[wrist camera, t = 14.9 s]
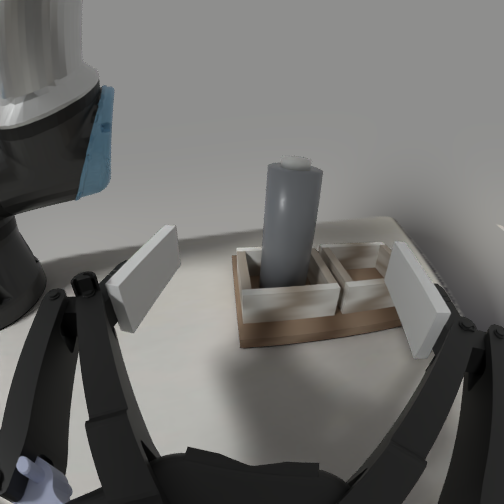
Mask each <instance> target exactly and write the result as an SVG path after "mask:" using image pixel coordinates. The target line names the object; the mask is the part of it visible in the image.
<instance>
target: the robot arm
mask: <svg viewBox="0 0 504 504" xmlns="http://www.w3.org/2000/svg"><path fill="white" fill-rule="evenodd" d="M113 100H114V88H113V87H107V86H105V85H104V86H102V87H101V88H100V85H99V74H98V71H97V70H96V69H95V68H93V67H92V66H90V65H88V64H86V63H85V62H84V61H83V59H82V0H0V329H1V328H3V327H5V326H7V325H9V324H11V323H12V322H14V321H16V320H17V319H18V318H20V317H21V316H22V315H24V314H25V313H26V312H27V311H28V310H29V309H30V308H31V307H32V306H33V305H34V304H35V303H36V302H37V300H38V299H39V298H40V296H41V294H42V293H43V291H44V288H45V285H46V277H45V274H44V271H43V269H42V266H41V264H40V262H39V260H38V259H37V258H36V257H35V256H34V255H33V253H32V251H31V250H30V248H29V246H28V245H27V243H26V242H25V240H24V239H23V237H22V235H21V234H20V232H19V230H18V227H17V224H16V220H15V216H14V215H16V214H19V213H23V212H26V211H30V210H34V209H38V208H42V207H46V206H50V205H54V204H59V203H63V202H67V201H72V200H79V199H80V198H81V197H84V196H87V195H91V194H94V193H98V192H100V191H102V190H103V189H105V188H106V187H107V185H108V183H109V182H110V179H111V133H112V114H113ZM180 265H181V261H180V254H179V246H178V238H177V230H176V225H164V227H162V228H161V229H160V230H159V231H158V232H157V233H156V234H155V235H154V236H153V237H152V238H151V239H150V240H148V241H147V242H146V243H145V244H144V245H143V246H142V247H141V248H140V249H139V250H138V251H137V252H136V253H135V254H134V255H133V256H132V257H131V258H130V259H129V260H125V261H124V262H122V263H120V264H118V265H117V266H116V267H115V268H114V269H113V271H111V272H110V273H109V275H107V276H106V277H105V278H104V279H103V280H102V281H101V282H100V283H99V284H98V280H97V277H96V275H95V273H93V272H83V273H80V274H78V275H76V276H75V277H74V278H73V279H72V280H71V285H72V288H73V290H74V293H75V296H76V297H67V296H66V293H65V291H64V290H63V289H53V290H52V291H49V292H48V293H47V294H46V295H45V297H44V298H43V300H42V303H41V305H40V307H39V309H38V311H37V314H36V316H35V318H34V321H33V323H32V326H31V328H30V331H29V333H28V336H27V338H26V341H25V344H24V346H23V349H22V352H21V355H20V358H19V361H18V364H17V367H16V370H15V373H14V377H13V380H12V384H11V387H10V391H9V395H8V399H7V403H6V407H5V412H4V417H3V422H2V427H1V430H0V496H1V497H3V498H4V499H6V500H8V501H10V502H12V503H14V504H402V503H403V501H404V500H405V498H406V497H407V496H408V494H409V493H410V491H411V490H412V488H413V487H414V485H415V484H416V482H417V481H418V479H419V478H420V476H421V475H422V473H423V471H424V469H425V467H426V465H427V461H425V459H426V457H427V455H428V453H429V451H430V450H431V448H432V446H433V444H434V442H435V440H436V438H437V436H438V435H439V433H440V431H441V429H442V426H443V424H444V422H445V420H446V418H447V416H448V414H449V411H450V409H451V407H452V404H453V402H454V400H455V397H456V395H457V392H458V390H459V387H460V384H461V382H462V379H463V376H464V382H463V394H462V403H461V411H460V417H459V424H458V430H457V435H456V440H455V445H454V449H453V454H452V458H451V462H450V466H449V469H448V473H447V476H446V480H445V483H444V486H443V489H442V492H441V495H440V498H439V501H438V504H504V328H503V327H501V326H498V325H495V324H494V325H491V326H490V327H489V329H488V331H487V332H483V331H478V330H477V328H476V326H475V324H474V323H473V322H472V321H471V320H469V319H468V318H465V317H461V316H460V315H459V313H458V311H457V310H456V308H455V306H454V305H453V303H452V302H451V300H450V298H449V297H448V295H447V293H446V292H445V290H444V289H443V288H442V287H441V286H439V285H438V284H433V282H432V280H431V279H430V277H429V276H428V274H427V273H426V271H425V270H424V268H423V267H422V265H421V264H420V262H419V261H418V259H417V258H416V257H415V255H414V254H413V252H412V251H411V249H410V248H409V247H408V245H407V244H406V242H400V241H394V243H393V248H392V252H391V256H390V260H389V264H388V268H387V271H386V275H385V279H384V281H385V284H386V286H387V288H388V291H389V293H390V296H391V298H392V301H393V303H394V305H395V308H396V311H397V313H398V316H399V318H400V321H401V324H402V326H403V329H404V332H405V335H406V337H407V340H408V343H409V346H410V349H411V352H412V355H413V358H414V359H424V358H428V356H429V354H430V353H431V351H432V349H433V352H434V354H435V356H434V358H433V359H432V361H431V363H430V364H429V366H428V368H427V369H426V373H425V375H424V376H423V378H422V380H421V382H420V384H419V385H418V387H417V389H416V390H415V392H414V394H413V396H412V397H411V399H410V400H409V402H408V404H407V405H406V407H405V408H404V410H403V411H402V413H401V415H400V416H399V418H398V419H397V421H396V422H395V423H394V425H393V426H392V428H391V429H390V431H389V432H388V433H387V435H386V436H385V437H384V439H383V440H382V441H381V443H380V444H379V445H378V447H377V448H376V449H375V450H374V452H373V453H372V454H371V455H370V457H369V458H368V459H367V460H366V462H365V463H364V464H363V465H362V466H361V467H360V468H359V470H358V471H357V472H356V473H355V474H354V475H353V476H352V477H351V478H350V479H349V480H348V481H347V482H345V481H343V480H342V479H340V478H339V477H337V476H335V475H333V474H331V473H329V472H326V471H323V470H319V463H300V462H282V463H275V464H267V465H258V466H250V465H246V464H244V463H241V462H239V461H236V460H233V459H231V458H228V457H226V456H224V455H221V454H219V453H214V452H209V451H205V450H200V449H196V448H191V447H187V451H186V453H176V454H170V455H165V456H162V457H161V456H160V454H159V452H158V451H157V449H156V447H155V446H154V444H153V442H152V440H151V437H150V435H149V432H148V430H147V428H146V425H145V423H144V420H143V417H142V415H141V412H140V410H139V407H138V404H137V401H136V398H135V396H134V393H133V390H132V387H131V384H130V381H129V377H128V374H127V371H126V368H125V364H124V361H123V357H122V354H121V350H120V346H119V342H118V338H117V334H116V331H115V328H114V326H115V324H116V323H117V322H118V324H119V326H120V329H121V330H122V331H126V332H130V333H134V332H135V331H136V329H137V328H138V326H139V325H140V323H141V322H142V320H143V319H144V317H145V316H146V314H147V313H148V311H149V310H150V308H151V307H152V305H153V304H154V302H155V301H156V299H157V298H158V297H159V295H160V294H161V292H162V291H163V289H164V288H165V286H166V285H167V284H168V282H169V281H170V279H171V278H172V277H173V275H174V274H175V272H176V271H177V269H178V268H179V267H180ZM78 353H79V356H80V365H81V373H82V380H83V386H84V393H85V398H86V404H87V409H88V414H89V421H86V422H85V428H86V433H87V438H88V442H89V446H90V449H91V453H92V457H93V460H94V463H95V467H96V470H97V473H98V476H99V479H100V482H101V485H102V487H101V488H98V489H96V490H94V491H92V492H90V493H87V494H85V495H83V496H80V497H78V498H75V499H73V500H70V496H71V495H72V488H71V486H70V485H69V484H68V480H67V478H66V476H65V474H66V467H67V458H68V435H69V419H70V408H71V399H72V390H73V383H74V376H75V370H76V364H77V358H78Z"/></svg>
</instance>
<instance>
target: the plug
mask: <svg viewBox="0 0 504 504" xmlns="http://www.w3.org/2000/svg"><path fill="white" fill-rule="evenodd" d="M322 175H323V171H322V170H320V169H318V168H316V167H312V166H311V159H308V158H304V157H298V156H282V157H281V163H272V164H269V165H268V172H267V187H266V201H265V215H264V228H263V242H262V255H261V268H260V281H259V289H261V288H277V287H291V286H305V284H306V279H307V274H308V268H309V262H310V257H311V251H312V245H313V238H314V232H315V226H316V219H317V212H318V205H319V198H320V190H321V183H322Z"/></svg>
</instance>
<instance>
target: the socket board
mask: <svg viewBox="0 0 504 504" xmlns="http://www.w3.org/2000/svg"><path fill="white" fill-rule="evenodd" d="M391 252H392V250H391V249H389V248H388V247H387V246H386V245H385V244H384V243H383V242H365V243H340V244H320V246H319V251H318V252H317V250H316V249H315V247H314V246H313V245H312V251H311V257H310V262H309V268H308V274H307V279H306V284H305V286H291V287H277V288H261V289H259V281H260V268H261V255H262V247H246V248H237V255H233V256H232V265H233V277H234V288H235V299H236V309H237V320H238V330H239V340H240V348H249V347H262V346H273V345H284V344H293V343H302V342H310V341H318V340H325V339H332V338H338V337H345V336H351V335H357V334H363V333H368V332H374V331H379V330H384V329H389V328H394V327H398V326H402V324H401V321H400V318H399V316H398V313H397V311H396V308H395V305H394V303H393V301H392V298H391V296H390V293H389V291H388V288H387V286H386V284H385V281H384V279H385V275H386V271H387V268H388V264H389V260H390V256H391Z"/></svg>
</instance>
